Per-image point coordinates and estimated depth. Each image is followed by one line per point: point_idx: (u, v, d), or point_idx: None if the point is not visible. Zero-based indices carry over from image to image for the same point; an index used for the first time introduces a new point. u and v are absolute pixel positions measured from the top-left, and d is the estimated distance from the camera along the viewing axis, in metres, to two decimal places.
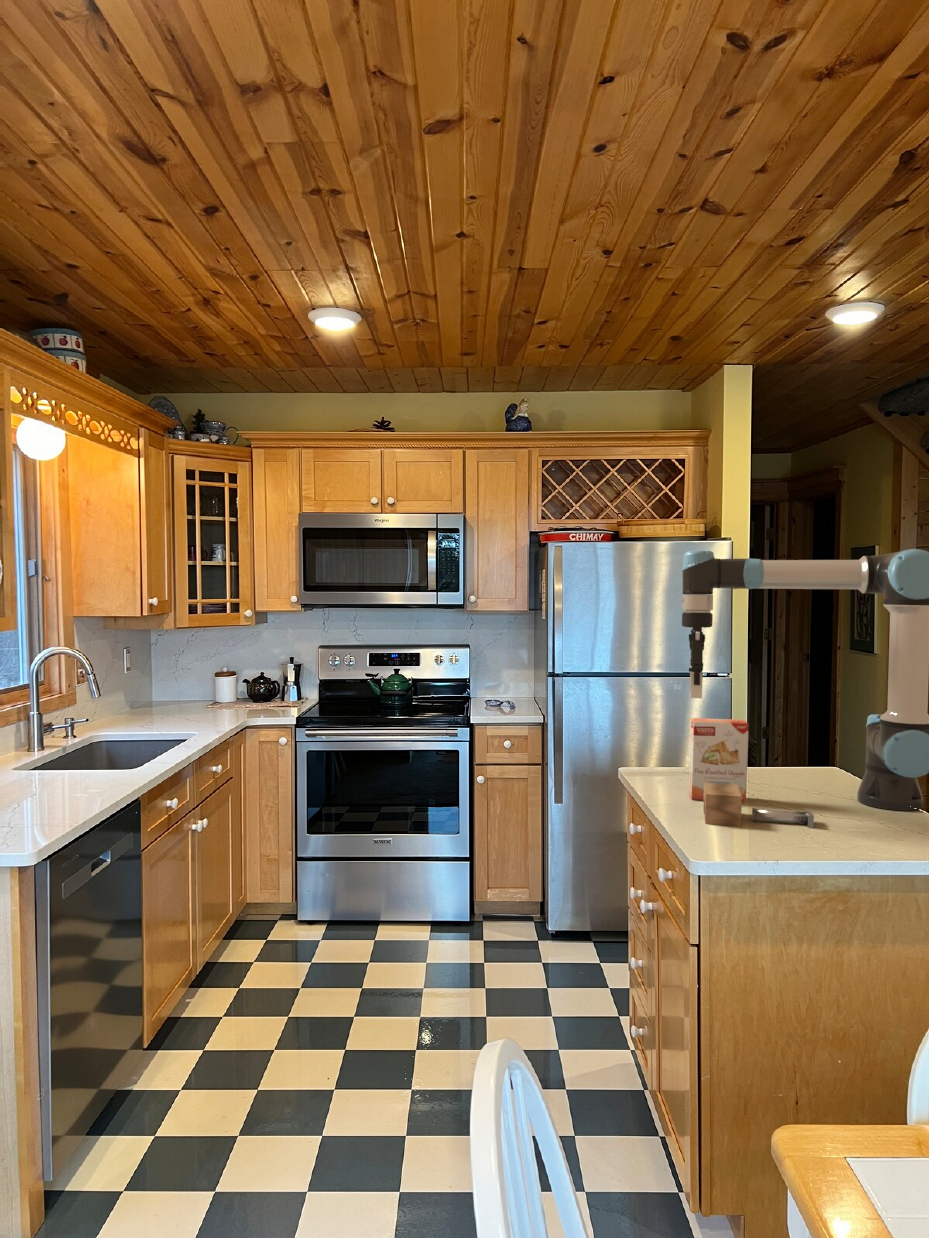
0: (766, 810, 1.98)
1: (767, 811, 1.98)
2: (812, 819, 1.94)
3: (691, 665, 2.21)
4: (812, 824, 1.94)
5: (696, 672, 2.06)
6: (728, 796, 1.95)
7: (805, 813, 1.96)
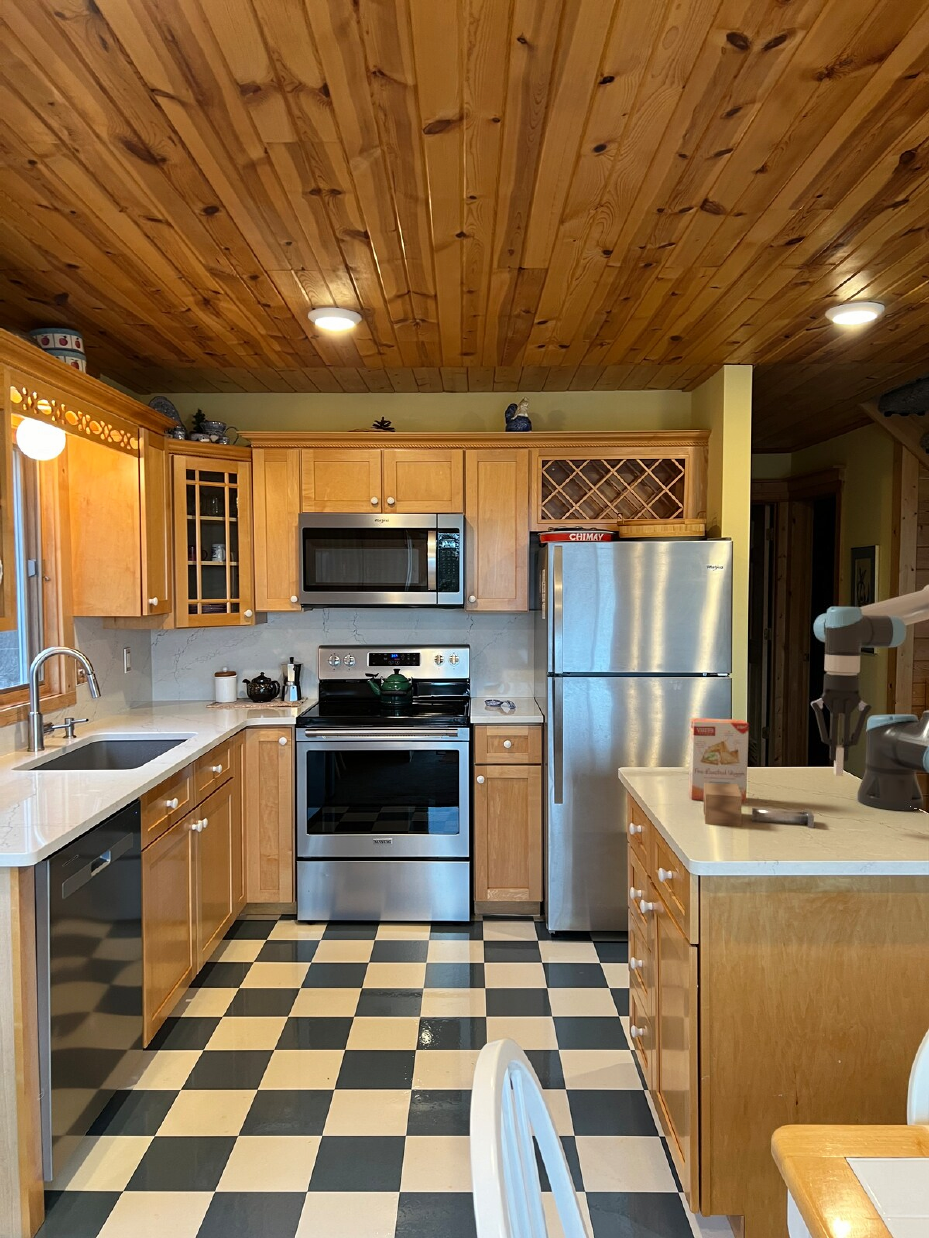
0: (766, 810, 1.98)
1: (767, 811, 1.98)
2: (812, 819, 1.94)
3: None
4: (812, 824, 1.94)
5: (829, 745, 1.95)
6: (728, 796, 1.95)
7: (805, 813, 1.96)
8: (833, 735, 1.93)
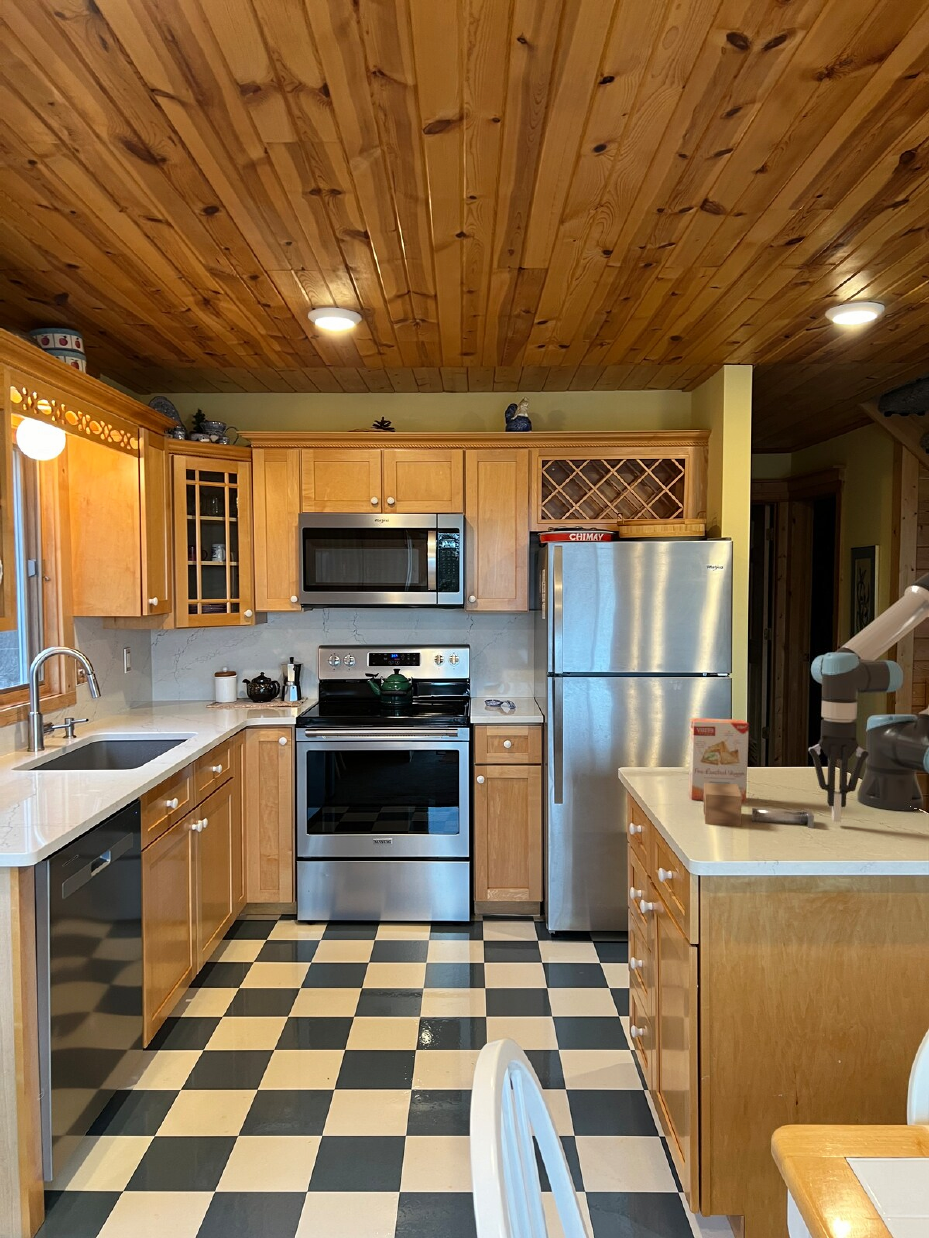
0: (766, 810, 1.98)
1: (767, 811, 1.98)
2: (812, 819, 1.94)
3: (839, 788, 1.96)
4: (812, 824, 1.94)
5: (827, 791, 1.95)
6: (728, 796, 1.95)
7: (805, 813, 1.96)
8: (831, 781, 1.94)
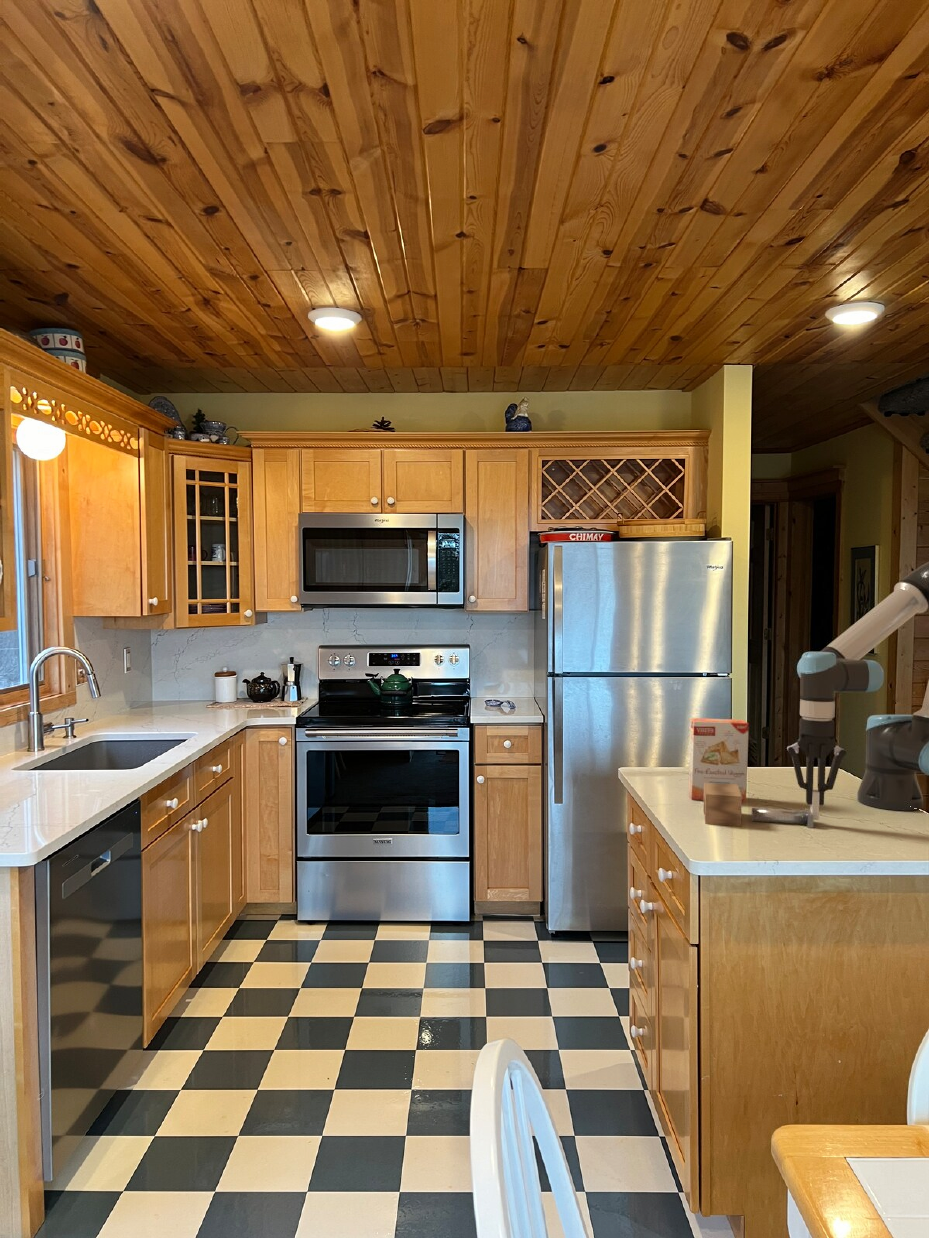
0: (766, 810, 1.98)
1: (766, 811, 1.98)
2: (812, 819, 1.94)
3: None
4: (812, 824, 1.94)
5: None
6: (728, 796, 1.95)
7: (805, 813, 1.96)
8: (809, 780, 1.95)
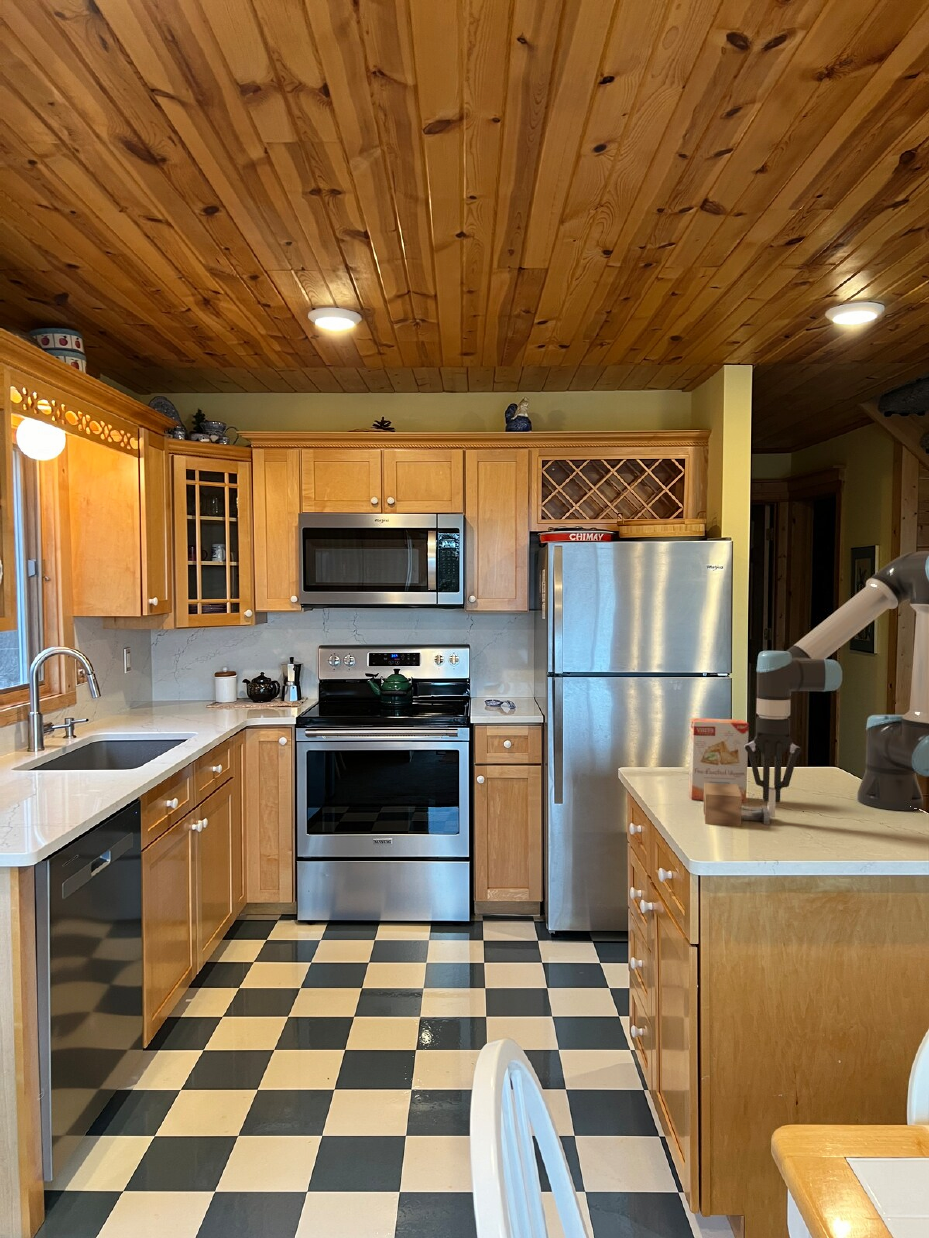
0: None
1: None
2: (768, 816, 1.96)
3: (774, 784, 1.99)
4: (768, 820, 1.96)
5: None
6: (728, 796, 1.95)
7: (761, 810, 1.98)
8: (765, 777, 1.97)
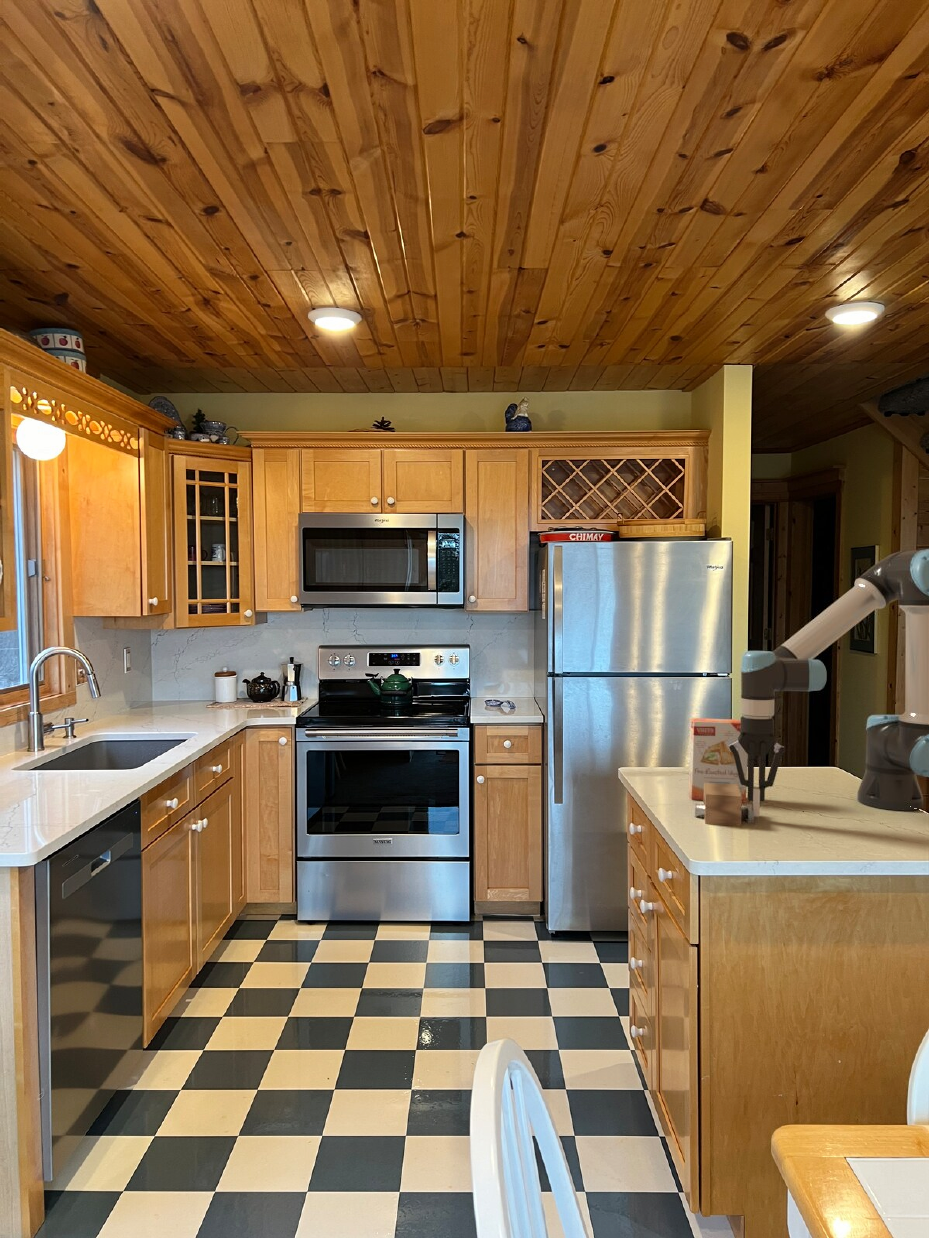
0: None
1: None
2: (752, 814, 1.97)
3: None
4: (752, 819, 1.97)
5: None
6: (728, 796, 1.95)
7: (746, 809, 1.99)
8: (750, 777, 1.98)
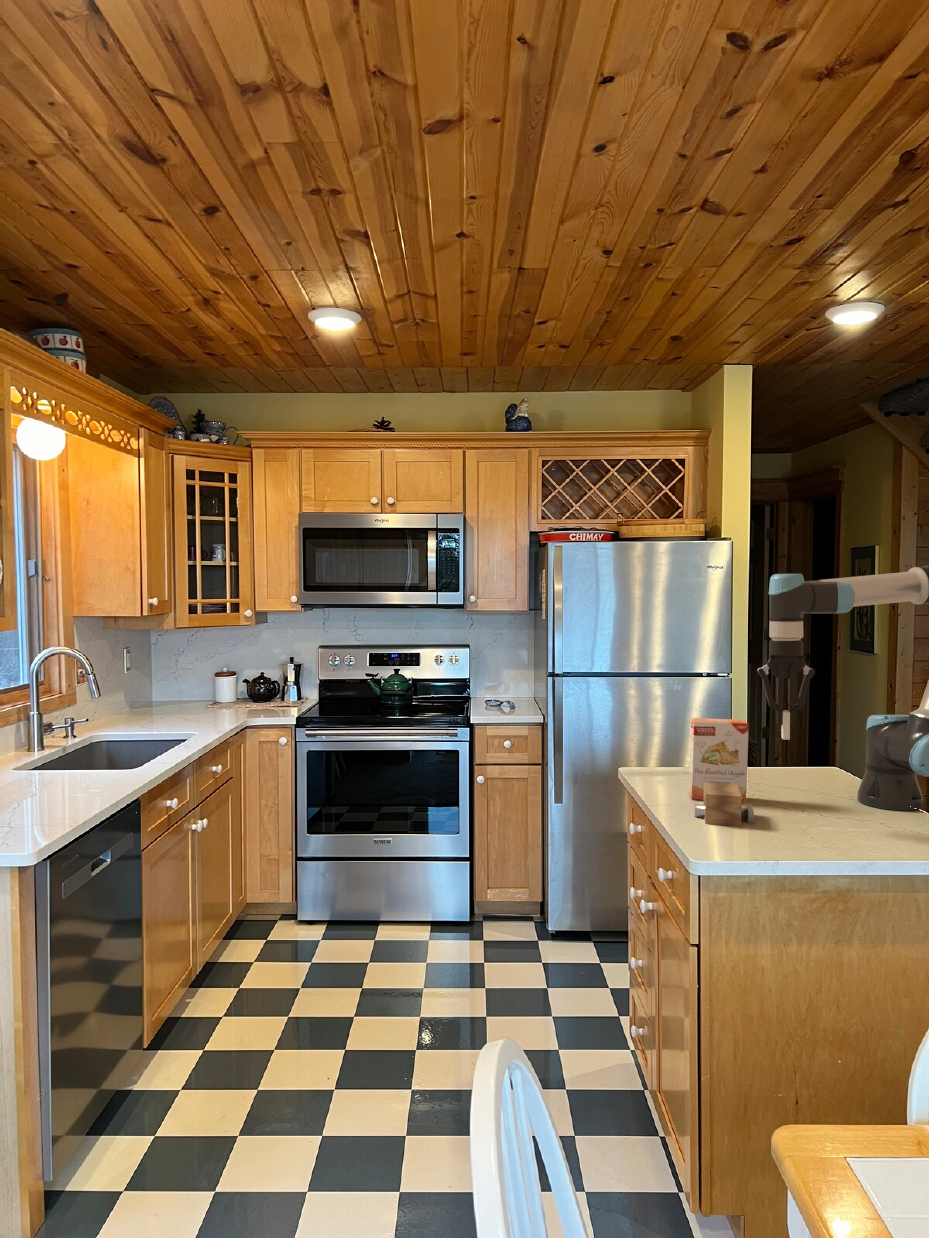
0: None
1: None
2: (752, 815, 1.97)
3: (788, 707, 1.99)
4: (752, 820, 1.97)
5: (776, 710, 1.99)
6: (728, 796, 1.95)
7: (746, 809, 1.99)
8: (779, 700, 1.97)
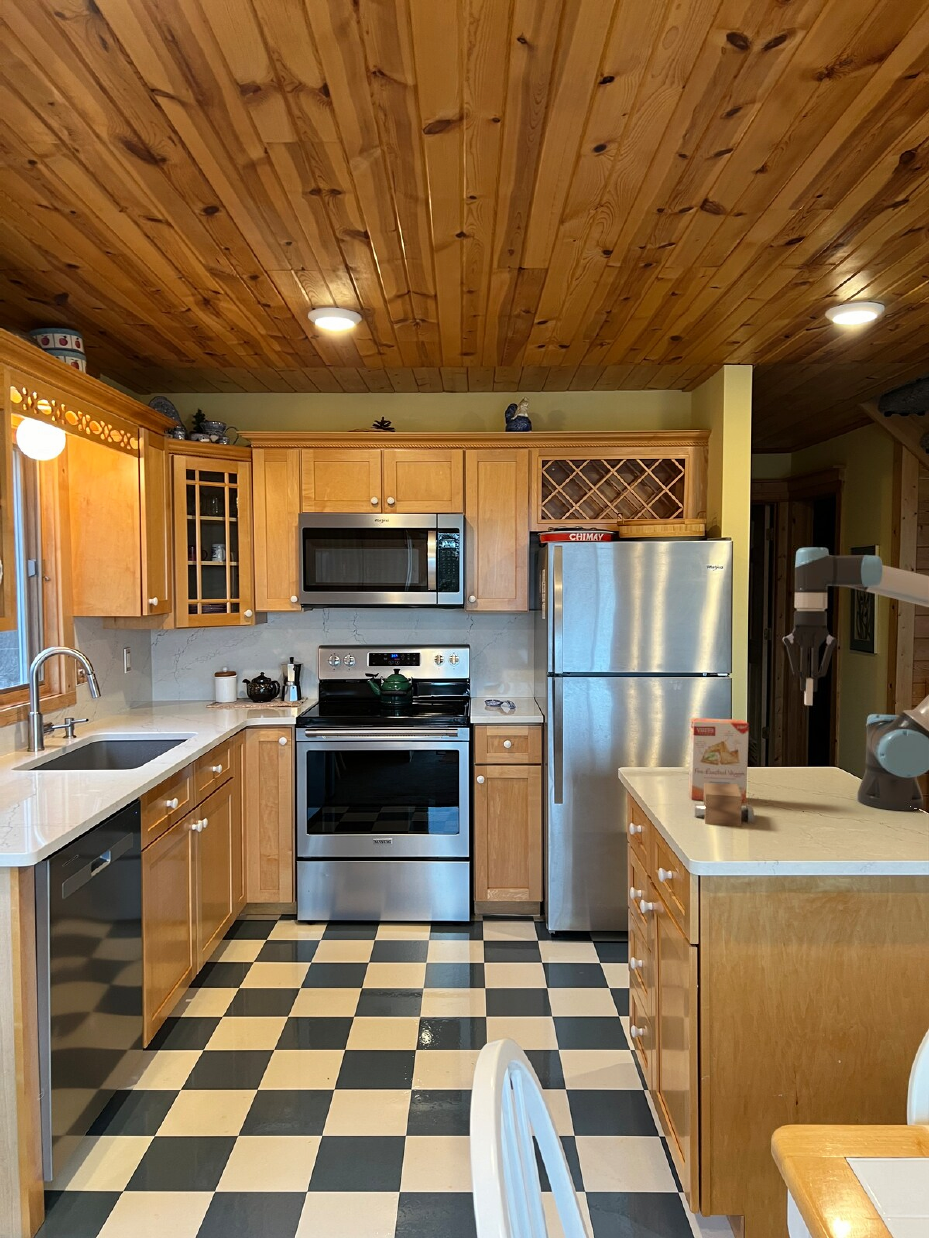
0: None
1: None
2: (752, 815, 1.97)
3: (811, 675, 2.09)
4: (752, 820, 1.97)
5: (800, 678, 2.09)
6: (728, 796, 1.95)
7: (746, 809, 1.99)
8: (803, 667, 2.08)
